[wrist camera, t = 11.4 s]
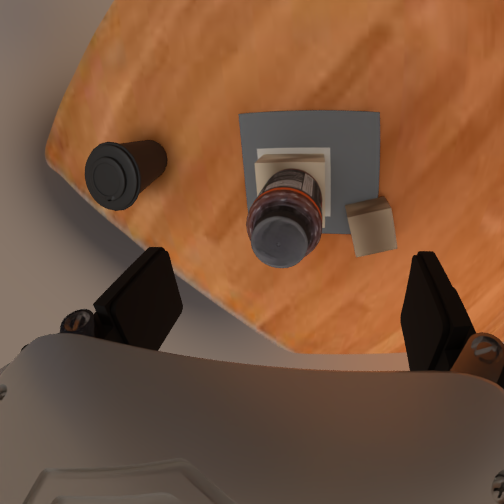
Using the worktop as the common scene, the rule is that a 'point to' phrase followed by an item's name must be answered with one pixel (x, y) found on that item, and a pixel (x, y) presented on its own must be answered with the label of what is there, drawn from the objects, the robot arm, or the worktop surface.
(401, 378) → the robot arm
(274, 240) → the supplement bottle
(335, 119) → the slate mat
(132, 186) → the coffee cup
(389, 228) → the oak block
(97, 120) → the worktop surface
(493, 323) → the worktop surface
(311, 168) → the maple block
